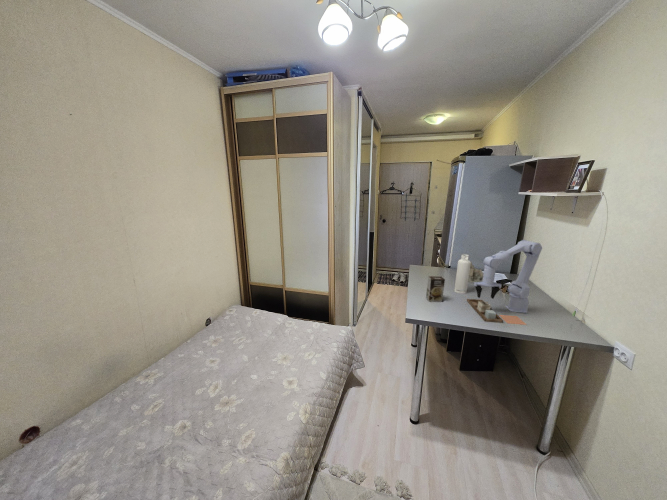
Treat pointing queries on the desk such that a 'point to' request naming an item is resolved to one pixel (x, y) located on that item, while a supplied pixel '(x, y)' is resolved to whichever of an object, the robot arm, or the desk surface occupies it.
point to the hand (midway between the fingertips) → (485, 297)
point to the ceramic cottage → (475, 274)
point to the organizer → (482, 314)
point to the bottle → (462, 274)
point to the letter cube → (483, 306)
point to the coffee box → (435, 289)
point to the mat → (512, 319)
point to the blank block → (490, 314)
